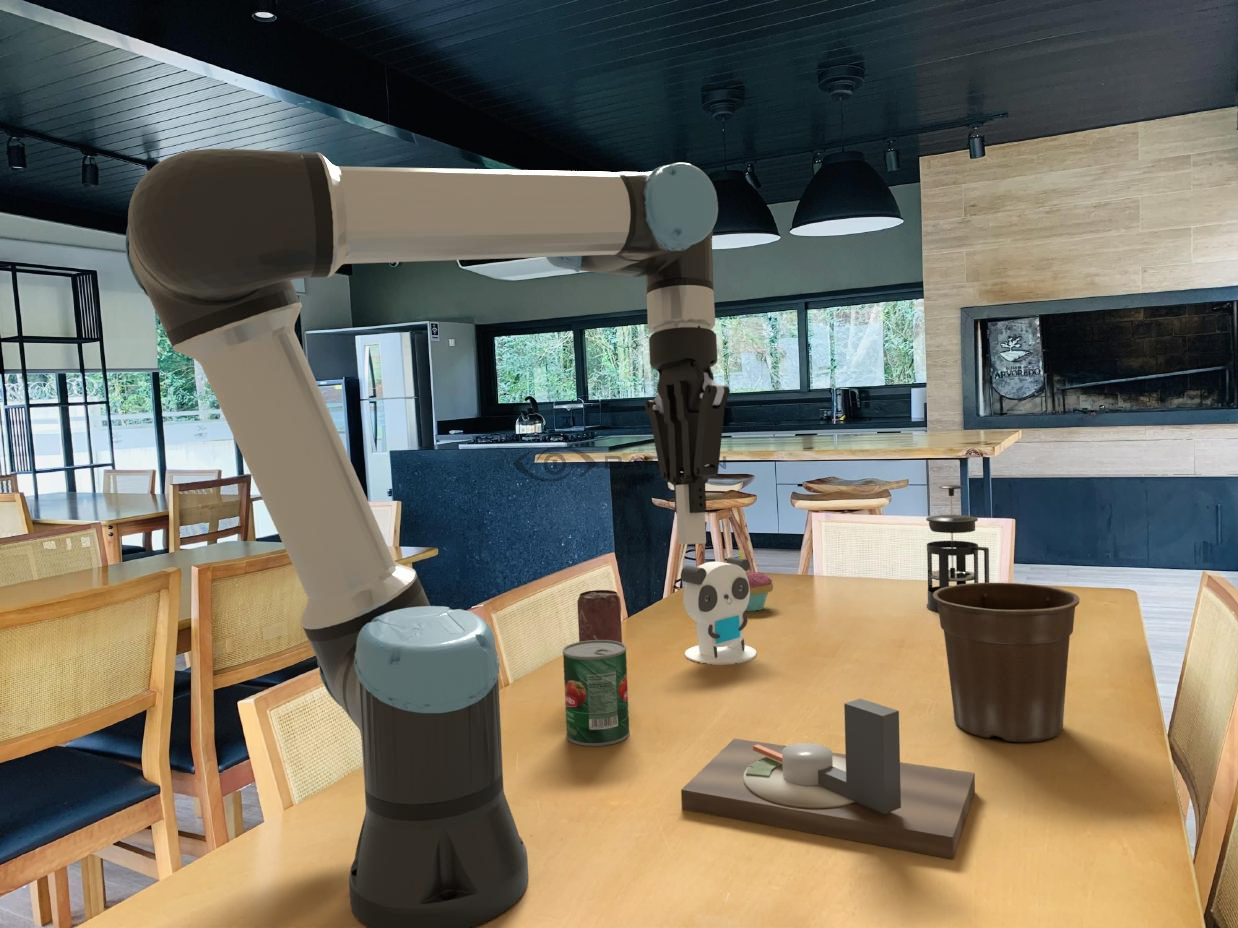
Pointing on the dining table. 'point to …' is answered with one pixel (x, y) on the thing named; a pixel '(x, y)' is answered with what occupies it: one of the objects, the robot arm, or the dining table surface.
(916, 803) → the dial board
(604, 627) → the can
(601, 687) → the canned tomato
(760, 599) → the cupcake
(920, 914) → the dining table surface
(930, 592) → the french press
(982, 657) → the plant pot
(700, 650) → the panda figurine
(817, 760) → the dial crank
